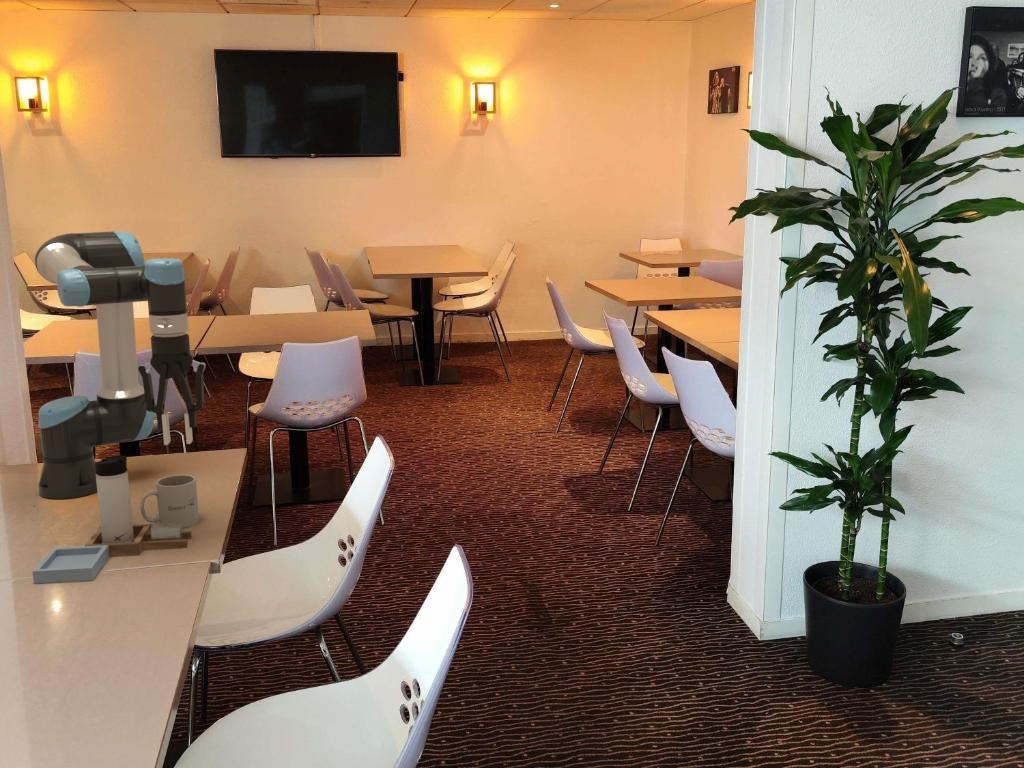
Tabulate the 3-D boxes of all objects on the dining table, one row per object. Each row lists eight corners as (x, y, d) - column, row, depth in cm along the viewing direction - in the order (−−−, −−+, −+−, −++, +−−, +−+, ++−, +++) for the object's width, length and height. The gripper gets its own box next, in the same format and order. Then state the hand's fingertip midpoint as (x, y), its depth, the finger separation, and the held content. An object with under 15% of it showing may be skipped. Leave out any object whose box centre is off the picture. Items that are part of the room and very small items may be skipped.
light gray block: (155, 541, 208) (153, 524, 207) (183, 540, 209) (182, 522, 208) (152, 546, 205) (150, 529, 204) (181, 545, 206) (179, 527, 205)
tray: (54, 559, 198) (52, 548, 198) (109, 556, 200) (108, 545, 199) (33, 583, 187) (32, 571, 186) (92, 580, 188) (91, 568, 188)
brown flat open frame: (101, 537, 211) (100, 526, 210) (194, 532, 213) (193, 521, 213) (85, 557, 199) (83, 546, 199) (183, 552, 202) (182, 541, 201)
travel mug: (124, 552, 202) (116, 462, 198) (96, 550, 203) (87, 460, 199) (141, 541, 208) (133, 453, 204) (114, 539, 209) (105, 452, 205)
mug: (198, 513, 225) (195, 473, 223) (199, 526, 217) (195, 484, 215) (143, 519, 221) (139, 478, 219) (141, 532, 213) (137, 490, 211)
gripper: (122, 337, 193) (132, 449, 198) (208, 335, 195) (216, 445, 200) (131, 332, 200) (141, 439, 205) (214, 330, 202) (222, 436, 207)
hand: (178, 442), depth 203 cm, fingers open, 4 cm apart
